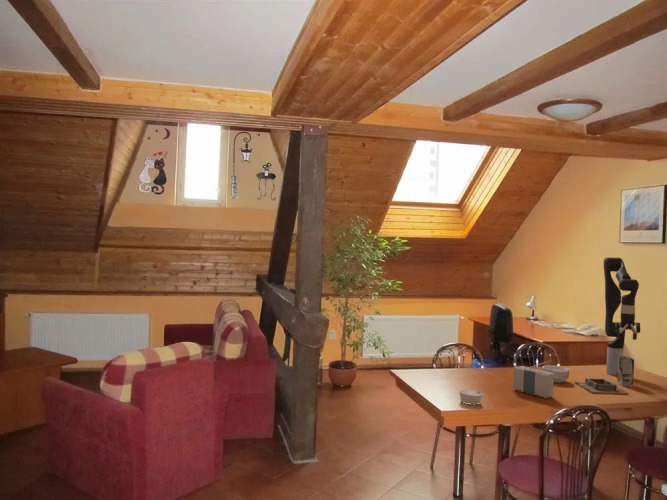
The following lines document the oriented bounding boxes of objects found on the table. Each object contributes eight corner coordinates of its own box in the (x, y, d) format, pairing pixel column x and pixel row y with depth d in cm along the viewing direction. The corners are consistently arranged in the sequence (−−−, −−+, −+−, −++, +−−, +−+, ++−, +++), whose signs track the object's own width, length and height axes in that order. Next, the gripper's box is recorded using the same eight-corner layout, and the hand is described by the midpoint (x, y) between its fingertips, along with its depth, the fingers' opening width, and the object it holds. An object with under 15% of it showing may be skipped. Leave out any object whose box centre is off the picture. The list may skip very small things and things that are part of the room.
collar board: (574, 383, 319) (574, 376, 319) (608, 384, 319) (608, 377, 319) (591, 393, 297) (592, 386, 297) (628, 394, 297) (628, 387, 297)
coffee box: (633, 387, 313) (634, 359, 313) (621, 386, 315) (622, 358, 315) (628, 383, 322) (629, 356, 322) (616, 382, 324) (617, 355, 323)
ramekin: (485, 406, 268) (485, 395, 268) (463, 406, 268) (463, 395, 268) (477, 399, 280) (477, 389, 280) (456, 399, 279) (456, 389, 279)
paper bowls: (574, 383, 318) (574, 370, 318) (554, 385, 313) (554, 371, 313) (555, 377, 333) (556, 364, 333) (535, 378, 328) (536, 365, 327)
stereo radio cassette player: (511, 390, 299) (513, 354, 299) (520, 388, 304) (521, 353, 304) (546, 399, 282) (547, 362, 282) (554, 397, 287) (556, 360, 287)
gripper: (636, 312, 324) (635, 338, 324) (612, 311, 324) (611, 338, 324) (643, 313, 317) (642, 341, 317) (619, 313, 317) (618, 340, 317)
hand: (627, 339), depth 321 cm, fingers open, 8 cm apart
